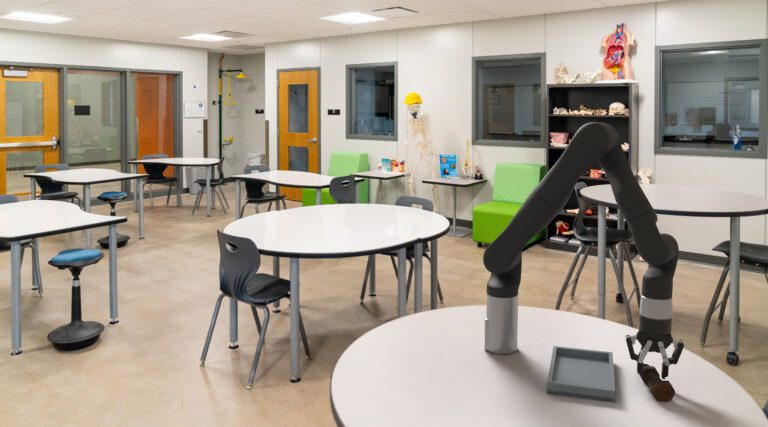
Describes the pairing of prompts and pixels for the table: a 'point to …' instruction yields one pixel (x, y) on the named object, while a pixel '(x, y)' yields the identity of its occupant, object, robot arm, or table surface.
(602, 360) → the tray
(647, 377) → the bolt
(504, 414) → the table surface
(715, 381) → the table surface
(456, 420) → the table surface
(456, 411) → the table surface
